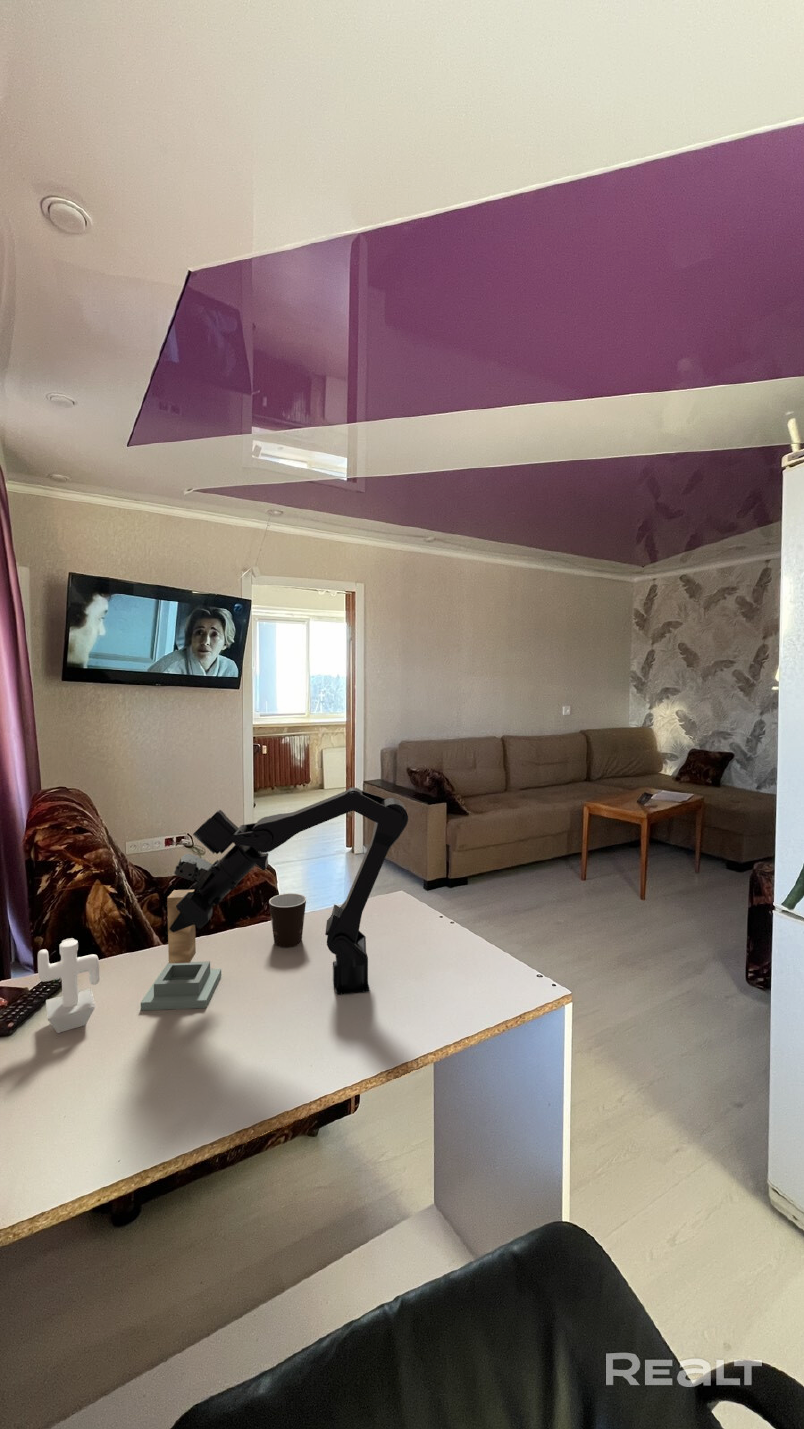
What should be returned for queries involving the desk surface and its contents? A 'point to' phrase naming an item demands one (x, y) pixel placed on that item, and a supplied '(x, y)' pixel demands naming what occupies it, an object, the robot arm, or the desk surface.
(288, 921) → the brown paper cup
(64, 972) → the figurine
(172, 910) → the oak stick
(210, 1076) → the desk surface
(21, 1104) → the desk surface
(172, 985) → the socket holder
